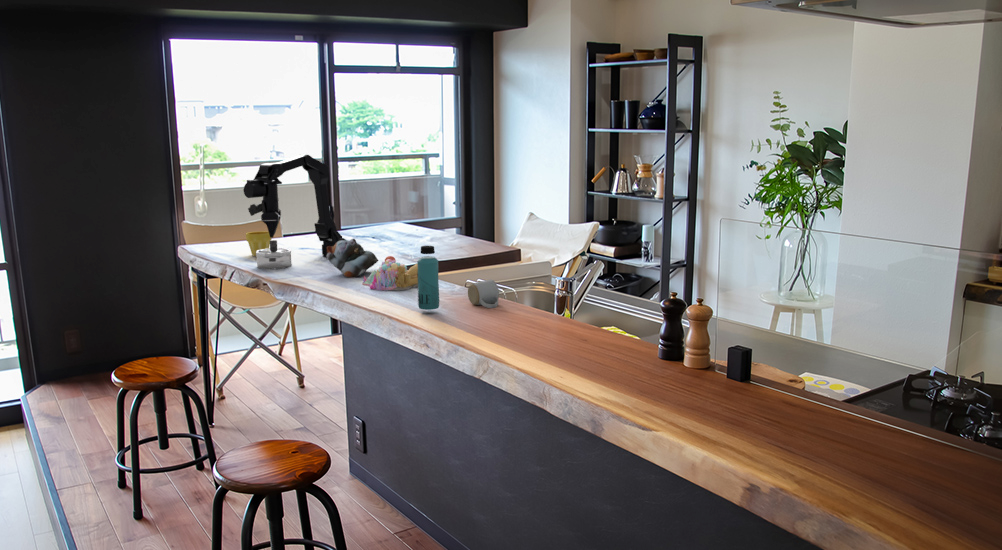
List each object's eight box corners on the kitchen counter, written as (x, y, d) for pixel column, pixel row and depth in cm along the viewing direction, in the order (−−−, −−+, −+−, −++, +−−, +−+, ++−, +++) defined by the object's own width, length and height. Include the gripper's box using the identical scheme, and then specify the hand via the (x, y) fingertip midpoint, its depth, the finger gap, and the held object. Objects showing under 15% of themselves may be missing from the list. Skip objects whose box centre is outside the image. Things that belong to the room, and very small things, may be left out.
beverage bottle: (440, 309, 225) (439, 244, 221) (439, 314, 219) (438, 247, 215) (418, 309, 225) (417, 244, 221) (416, 315, 219) (415, 247, 215)
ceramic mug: (466, 303, 234) (466, 280, 232) (487, 300, 238) (487, 277, 236) (483, 310, 225) (483, 286, 224) (505, 307, 229) (505, 283, 228)
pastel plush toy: (443, 282, 267) (443, 257, 265) (403, 295, 246) (402, 267, 245) (388, 276, 279) (387, 251, 277) (345, 287, 259) (344, 261, 257)
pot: (292, 261, 307) (291, 246, 305) (290, 269, 289) (289, 253, 288) (259, 262, 304) (258, 247, 303) (255, 271, 286) (254, 255, 285)
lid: (287, 251, 301) (286, 238, 300) (285, 255, 292) (285, 242, 291) (262, 252, 299) (261, 239, 298) (260, 256, 290) (259, 242, 289)
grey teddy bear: (353, 279, 270) (331, 242, 268) (335, 288, 279) (313, 252, 277) (385, 260, 281) (364, 224, 279) (367, 269, 291) (346, 234, 289)
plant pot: (246, 254, 325) (244, 231, 323) (270, 252, 329) (269, 230, 327) (248, 257, 316) (247, 234, 314) (274, 256, 320) (272, 233, 318)
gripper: (251, 194, 298) (253, 233, 301) (246, 198, 280) (248, 239, 283) (280, 194, 301) (282, 232, 303) (277, 198, 283) (279, 239, 286)
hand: (272, 236), depth 294 cm, fingers open, 9 cm apart
